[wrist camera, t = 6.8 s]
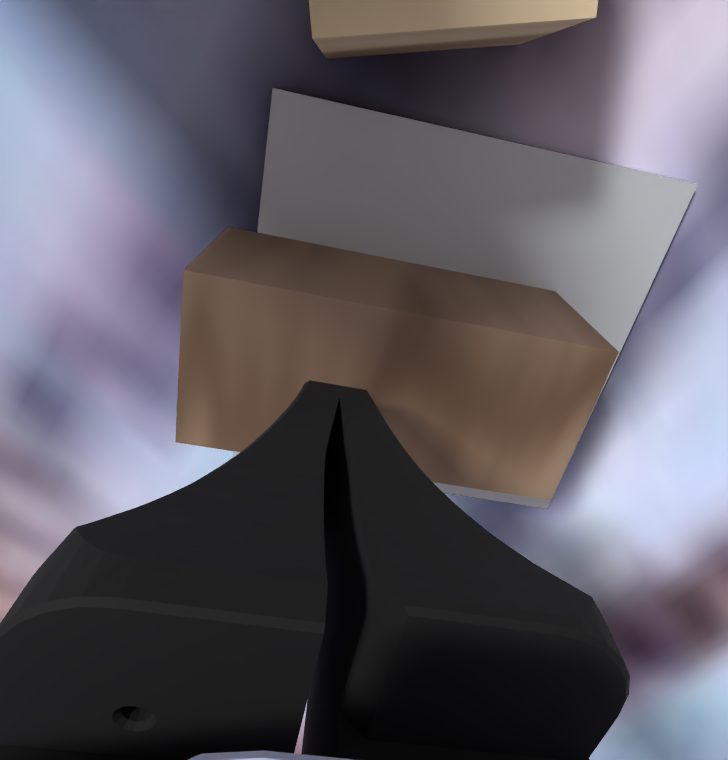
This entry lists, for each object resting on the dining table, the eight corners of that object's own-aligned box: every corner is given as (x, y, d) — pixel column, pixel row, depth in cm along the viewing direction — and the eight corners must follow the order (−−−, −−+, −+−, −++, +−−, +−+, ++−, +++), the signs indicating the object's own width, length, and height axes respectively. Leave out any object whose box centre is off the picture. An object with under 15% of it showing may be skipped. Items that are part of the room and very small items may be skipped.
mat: (544, 503, 21) (547, 509, 20) (234, 455, 19) (232, 460, 19) (691, 182, 15) (698, 184, 15) (274, 88, 14) (272, 87, 14)
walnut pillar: (216, 364, 17) (508, 414, 18) (175, 441, 13) (550, 500, 14) (228, 226, 15) (555, 290, 16) (183, 270, 11) (618, 351, 12)
